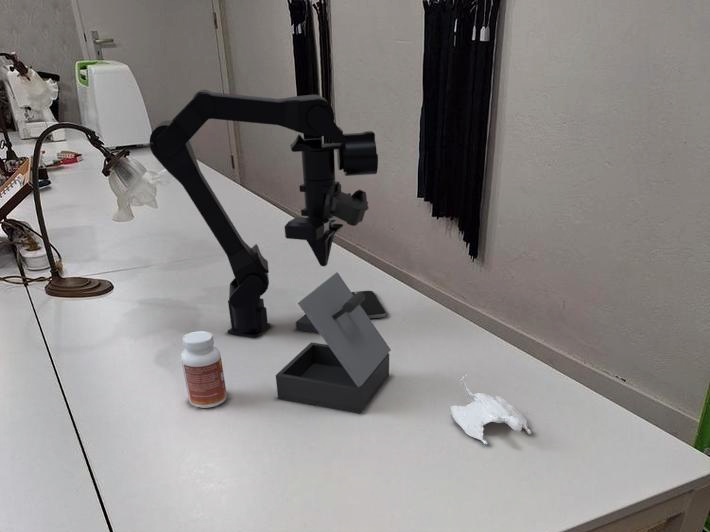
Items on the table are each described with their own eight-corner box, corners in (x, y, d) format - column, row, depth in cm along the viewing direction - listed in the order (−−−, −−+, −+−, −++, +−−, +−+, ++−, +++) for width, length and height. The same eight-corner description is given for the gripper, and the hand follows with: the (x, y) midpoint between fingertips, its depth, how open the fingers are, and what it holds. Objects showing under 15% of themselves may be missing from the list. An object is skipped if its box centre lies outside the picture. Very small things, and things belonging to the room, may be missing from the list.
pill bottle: (233, 402, 107) (224, 338, 100) (198, 413, 104) (186, 348, 97) (217, 387, 111) (208, 325, 104) (183, 398, 108) (171, 335, 102)
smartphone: (372, 289, 145) (387, 313, 133) (372, 293, 146) (387, 317, 134) (338, 292, 144) (350, 317, 132) (339, 296, 145) (351, 320, 133)
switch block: (296, 330, 130) (294, 313, 128) (312, 315, 136) (311, 299, 134) (342, 336, 127) (341, 319, 125) (357, 321, 133) (357, 304, 131)
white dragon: (429, 399, 105) (430, 376, 103) (484, 387, 108) (486, 365, 106) (486, 456, 92) (489, 430, 89) (548, 440, 94) (552, 416, 92)
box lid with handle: (297, 303, 96) (320, 286, 93) (333, 274, 106) (355, 257, 103) (358, 387, 100) (382, 373, 97) (387, 352, 110) (410, 338, 107)
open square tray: (277, 398, 107) (275, 375, 105) (312, 364, 117) (311, 342, 115) (360, 413, 102) (360, 389, 100) (389, 376, 112) (389, 353, 110)
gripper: (339, 191, 107) (343, 285, 116) (380, 169, 120) (380, 255, 129) (279, 187, 110) (287, 279, 119) (325, 166, 124) (329, 250, 133)
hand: (323, 265), depth 125 cm, fingers closed
